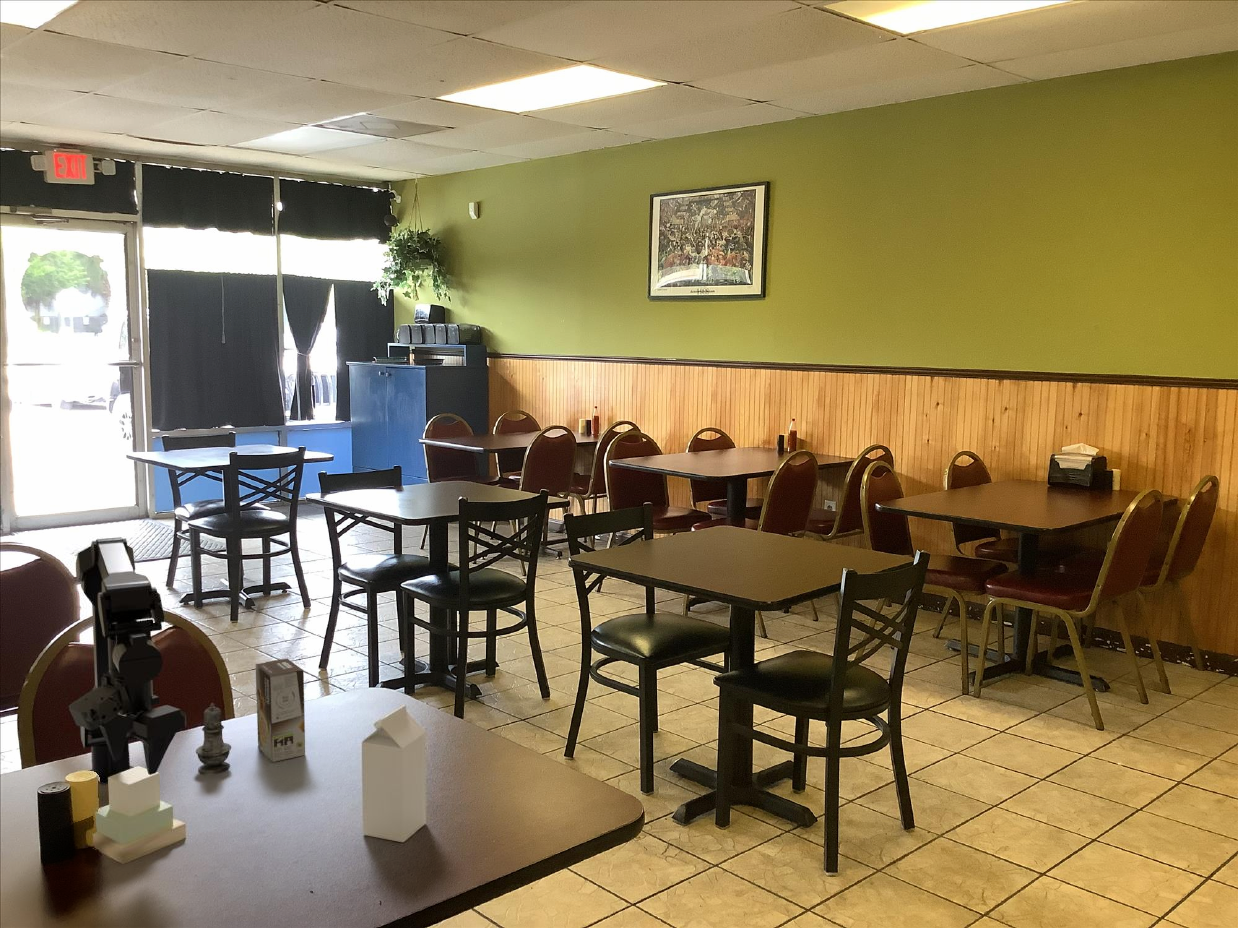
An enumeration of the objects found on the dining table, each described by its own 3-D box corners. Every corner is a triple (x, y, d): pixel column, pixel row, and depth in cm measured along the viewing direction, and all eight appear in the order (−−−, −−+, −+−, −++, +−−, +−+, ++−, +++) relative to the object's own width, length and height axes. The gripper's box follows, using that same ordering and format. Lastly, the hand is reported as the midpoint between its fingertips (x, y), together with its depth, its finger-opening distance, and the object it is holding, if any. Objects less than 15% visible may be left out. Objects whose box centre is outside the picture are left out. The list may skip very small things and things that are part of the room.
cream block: (109, 809, 156) (108, 777, 156) (139, 797, 161) (138, 765, 160) (130, 816, 154) (129, 784, 153) (160, 804, 158) (159, 772, 158)
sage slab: (93, 829, 156) (92, 810, 156) (144, 810, 163) (143, 792, 162) (122, 844, 152) (121, 825, 151) (173, 824, 158) (172, 805, 158)
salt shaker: (219, 776, 181) (217, 709, 180) (189, 773, 182) (187, 706, 181) (238, 763, 187) (236, 698, 186) (208, 760, 188) (206, 695, 187)
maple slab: (86, 849, 156) (85, 830, 156) (148, 824, 165) (147, 806, 164) (123, 868, 151) (122, 849, 150) (186, 842, 159) (185, 823, 159)
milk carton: (426, 823, 165) (425, 707, 162) (403, 843, 158) (402, 722, 156) (387, 816, 167) (386, 701, 165) (362, 835, 160) (360, 716, 158)
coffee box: (307, 755, 191) (305, 669, 189) (272, 762, 187) (270, 676, 185) (289, 739, 198) (288, 657, 197) (255, 746, 195) (253, 663, 193)
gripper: (42, 667, 153) (47, 769, 155) (113, 691, 143) (117, 801, 145) (115, 649, 162) (119, 746, 164) (186, 671, 152) (190, 774, 154)
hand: (134, 766), depth 156 cm, fingers open, 9 cm apart
